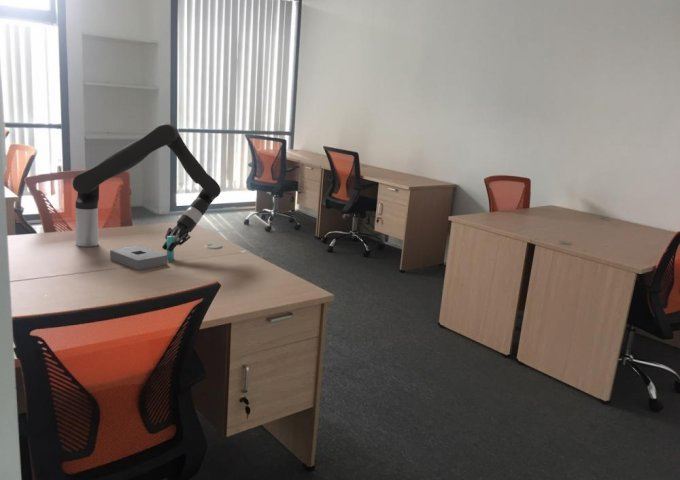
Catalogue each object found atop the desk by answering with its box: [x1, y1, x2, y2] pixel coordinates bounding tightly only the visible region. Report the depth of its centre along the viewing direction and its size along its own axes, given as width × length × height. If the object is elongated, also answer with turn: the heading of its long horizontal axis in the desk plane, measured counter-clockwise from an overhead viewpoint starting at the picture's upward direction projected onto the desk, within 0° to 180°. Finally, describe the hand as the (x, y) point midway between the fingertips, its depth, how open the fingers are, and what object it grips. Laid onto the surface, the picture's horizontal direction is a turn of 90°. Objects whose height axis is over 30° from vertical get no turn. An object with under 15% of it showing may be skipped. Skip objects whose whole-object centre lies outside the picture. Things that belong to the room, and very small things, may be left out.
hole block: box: [109, 245, 168, 271], centre depth 248 cm, size 20×14×4 cm
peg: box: [166, 236, 175, 261], centre depth 255 cm, size 3×3×10 cm
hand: (166, 249), depth 254 cm, fingers closed on peg, 3 cm apart
